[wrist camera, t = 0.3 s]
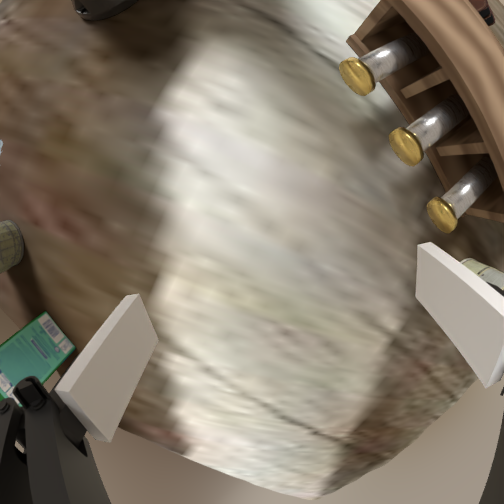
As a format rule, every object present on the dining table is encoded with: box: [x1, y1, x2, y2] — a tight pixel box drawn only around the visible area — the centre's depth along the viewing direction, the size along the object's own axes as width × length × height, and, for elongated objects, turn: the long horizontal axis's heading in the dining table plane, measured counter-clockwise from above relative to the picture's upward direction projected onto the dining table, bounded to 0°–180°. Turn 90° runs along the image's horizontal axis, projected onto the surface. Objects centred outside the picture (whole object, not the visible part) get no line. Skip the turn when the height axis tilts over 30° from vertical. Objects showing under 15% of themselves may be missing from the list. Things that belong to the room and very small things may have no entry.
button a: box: [427, 157, 498, 233], centre depth 29 cm, size 13×5×5 cm, turn 127°
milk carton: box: [0, 311, 76, 407], centre depth 31 cm, size 9×9×25 cm
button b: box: [389, 94, 469, 166], centre depth 27 cm, size 13×5×5 cm, turn 127°
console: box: [346, 0, 504, 223], centre depth 26 cm, size 14×33×17 cm, turn 37°
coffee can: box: [460, 258, 504, 291], centre depth 34 cm, size 10×10×14 cm
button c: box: [339, 33, 429, 96], centre depth 26 cm, size 13×5×5 cm, turn 127°
